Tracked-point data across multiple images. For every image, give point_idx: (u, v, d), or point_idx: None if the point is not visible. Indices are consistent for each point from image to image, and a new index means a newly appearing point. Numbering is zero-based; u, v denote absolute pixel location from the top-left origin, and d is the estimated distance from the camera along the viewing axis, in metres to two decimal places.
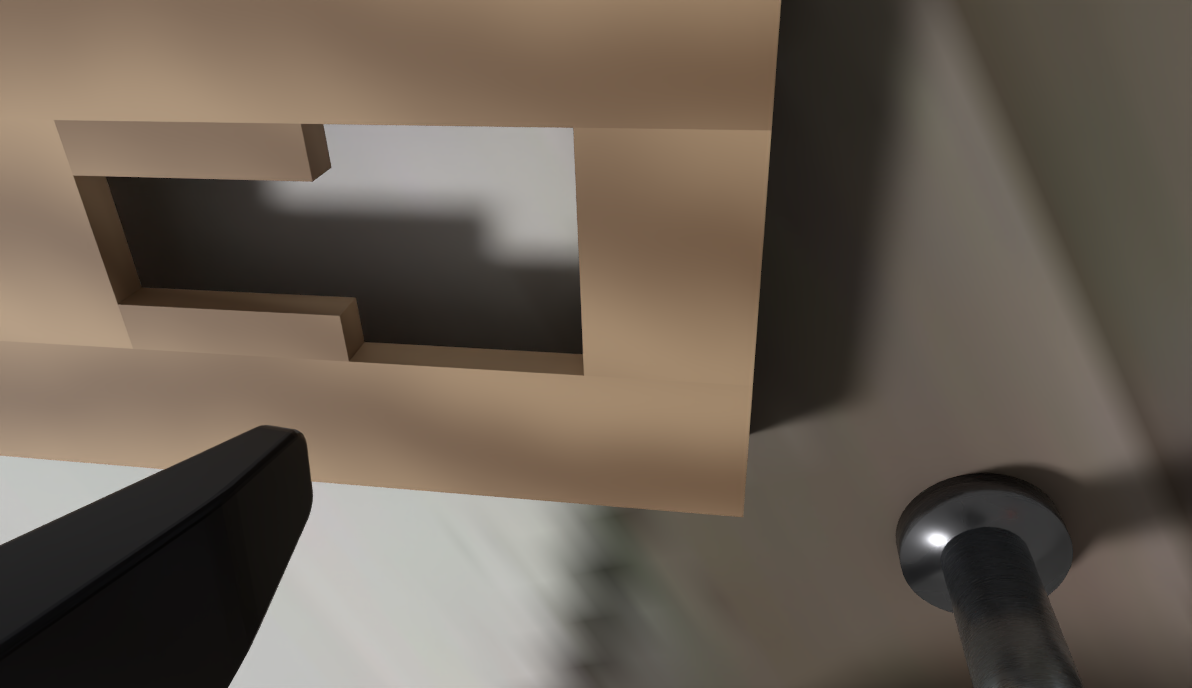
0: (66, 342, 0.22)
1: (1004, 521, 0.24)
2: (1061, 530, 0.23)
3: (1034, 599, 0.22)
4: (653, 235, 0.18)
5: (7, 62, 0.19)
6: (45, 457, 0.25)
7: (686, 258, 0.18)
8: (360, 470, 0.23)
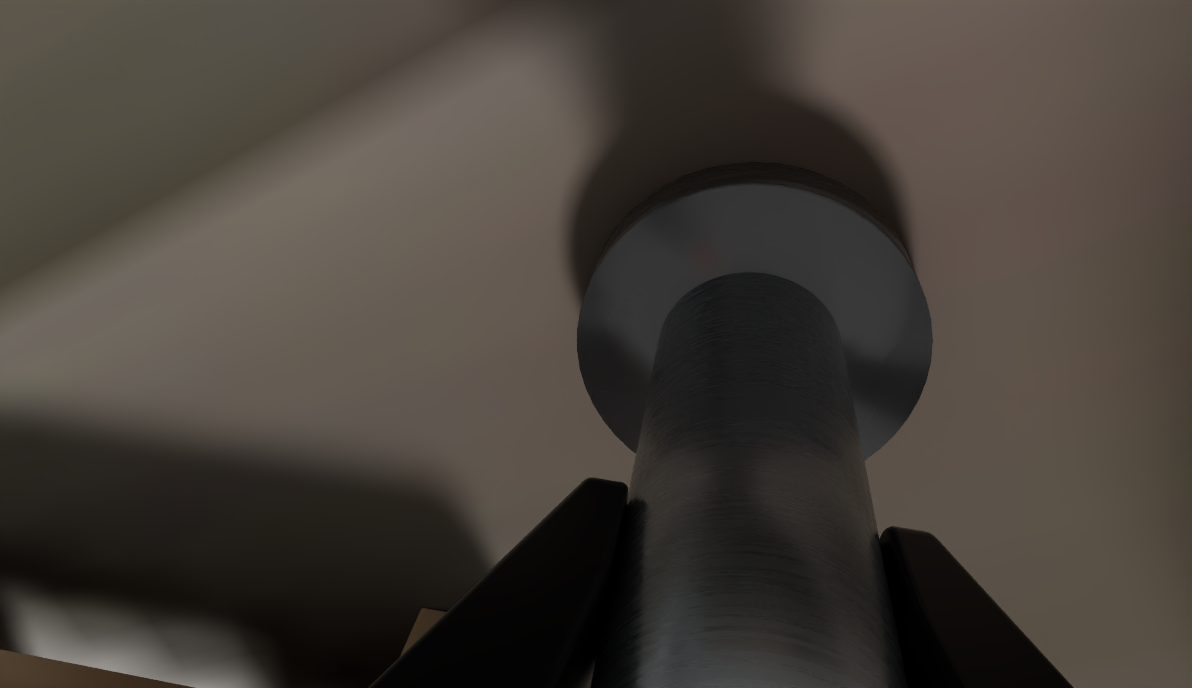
0: None
1: (642, 323, 0.11)
2: (669, 216, 0.10)
3: (648, 426, 0.09)
4: None
5: None
6: None
7: None
8: None
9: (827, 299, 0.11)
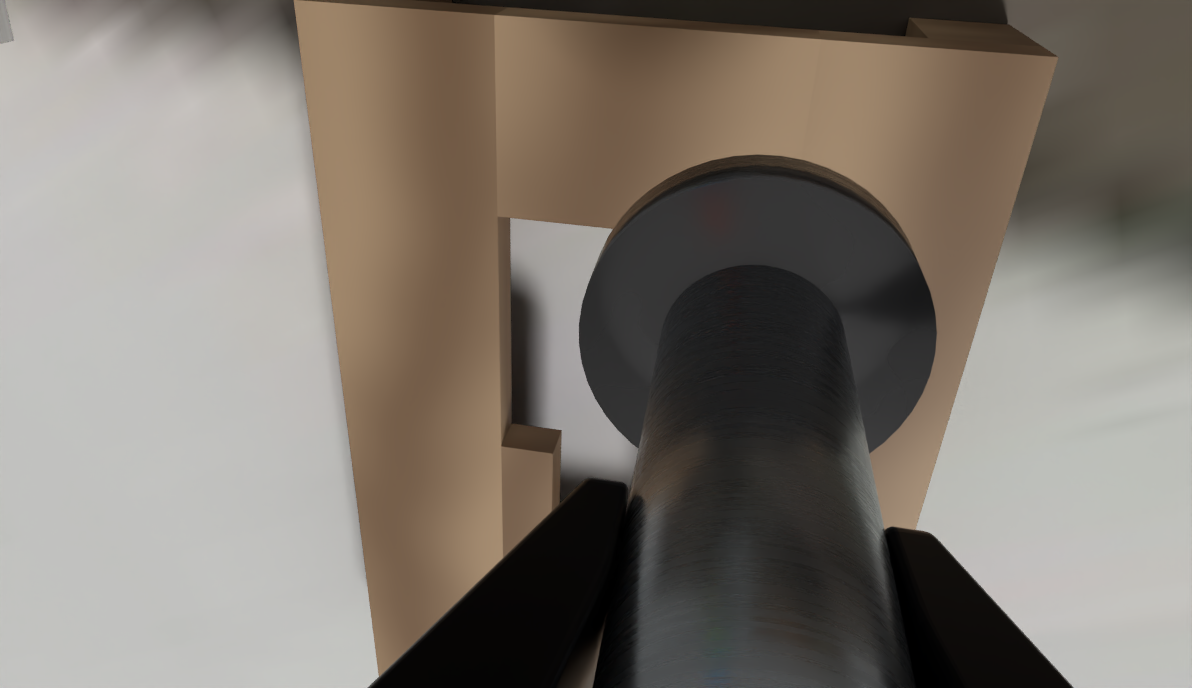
0: None
1: (643, 315, 0.11)
2: (672, 208, 0.10)
3: (651, 418, 0.09)
4: (610, 149, 0.17)
5: None
6: None
7: (638, 114, 0.16)
8: (896, 514, 0.20)
9: (831, 291, 0.11)
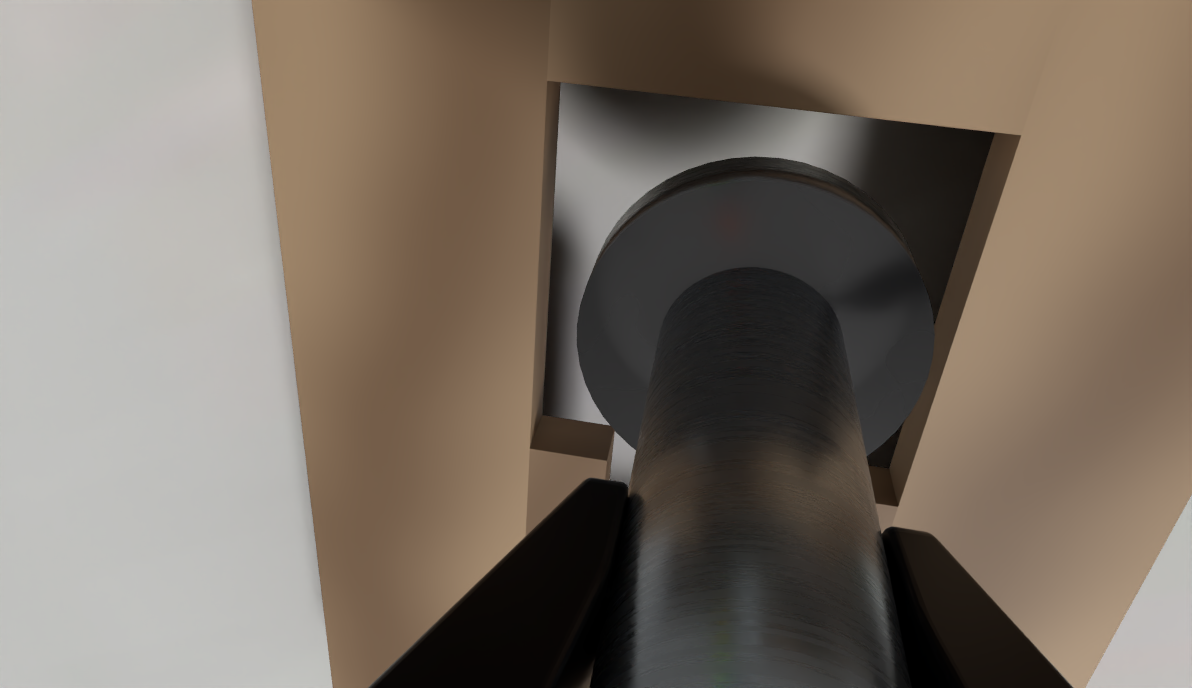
0: None
1: (642, 318, 0.11)
2: (670, 210, 0.10)
3: (649, 421, 0.09)
4: None
5: None
6: None
7: None
8: (1119, 558, 0.13)
9: (828, 294, 0.11)
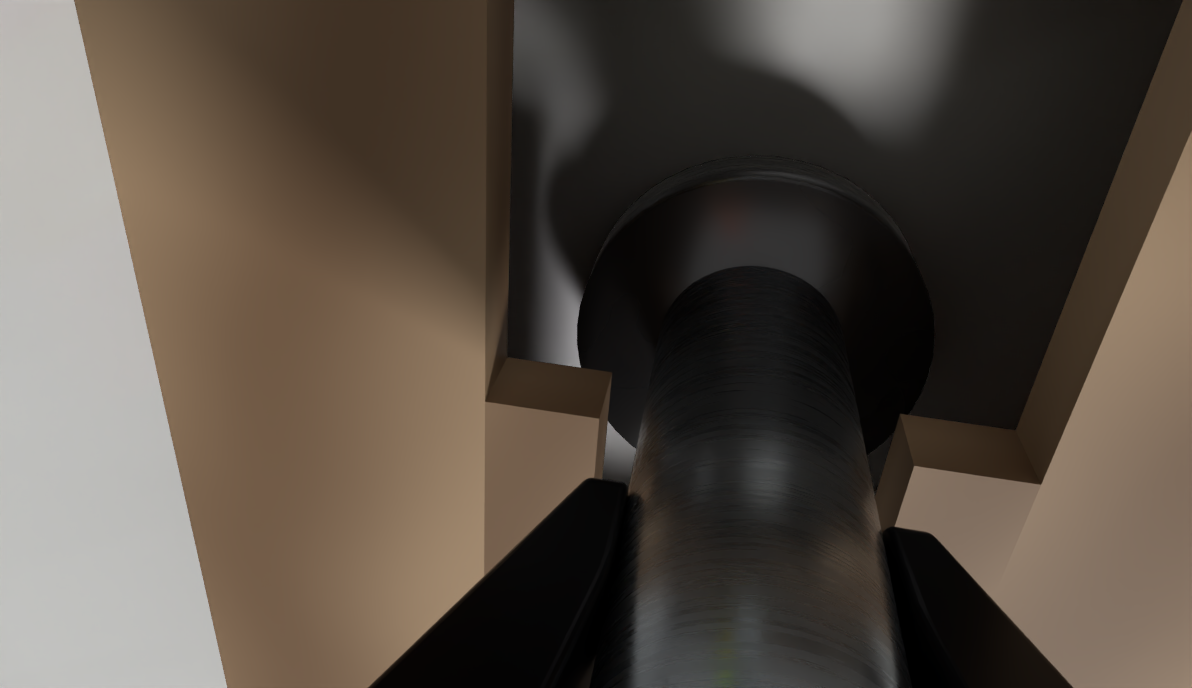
0: None
1: (642, 317, 0.11)
2: (670, 209, 0.10)
3: (649, 419, 0.09)
4: None
5: None
6: None
7: None
8: None
9: (829, 292, 0.11)
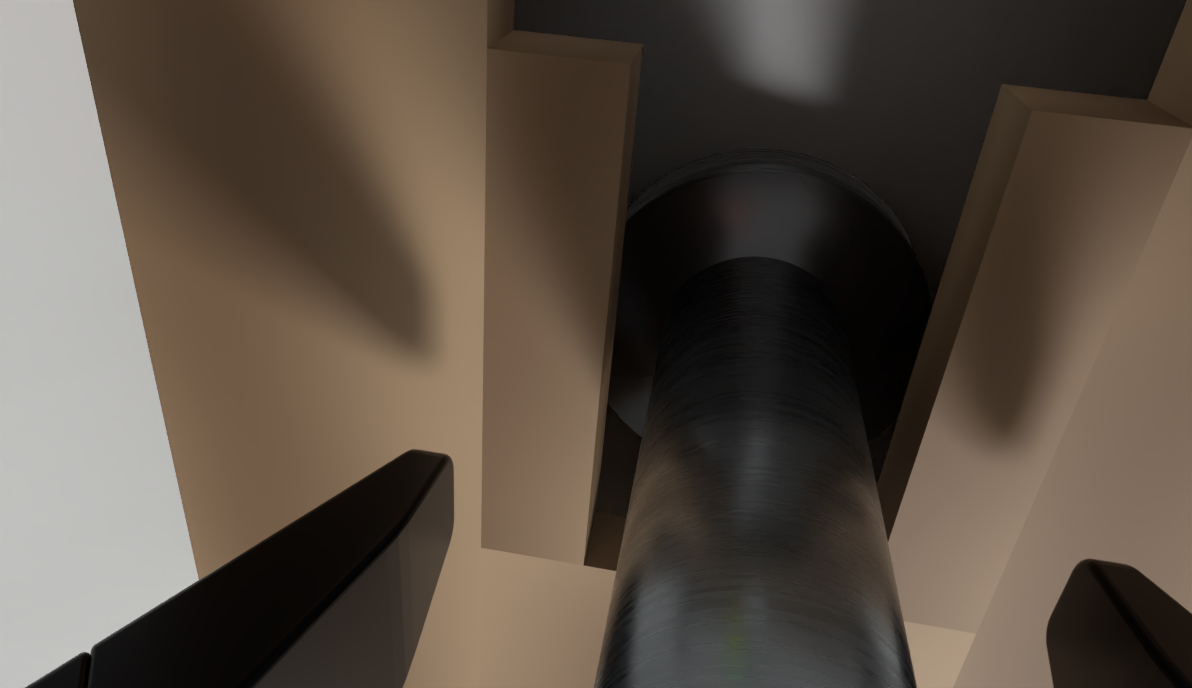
0: None
1: (648, 307, 0.11)
2: (675, 201, 0.11)
3: (655, 404, 0.09)
4: None
5: None
6: None
7: None
8: None
9: (830, 282, 0.11)
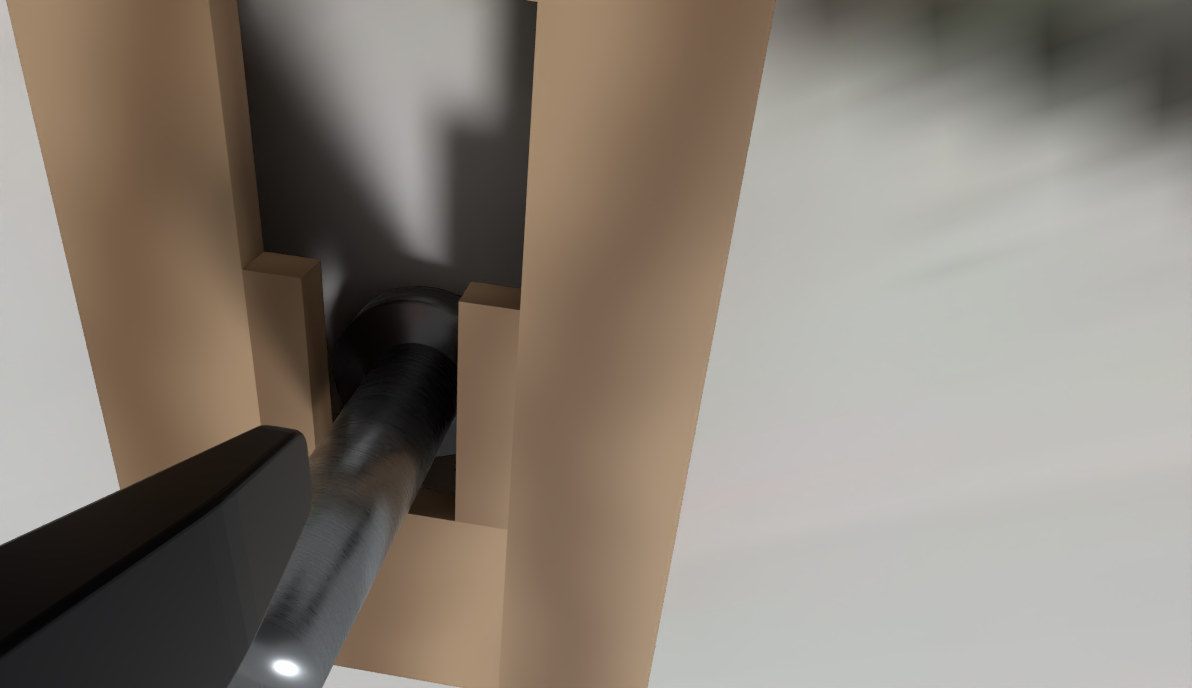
0: (501, 587, 0.21)
1: (364, 367, 0.22)
2: (369, 315, 0.21)
3: None
4: None
5: None
6: (649, 672, 0.22)
7: None
8: (685, 347, 0.17)
9: (451, 356, 0.21)
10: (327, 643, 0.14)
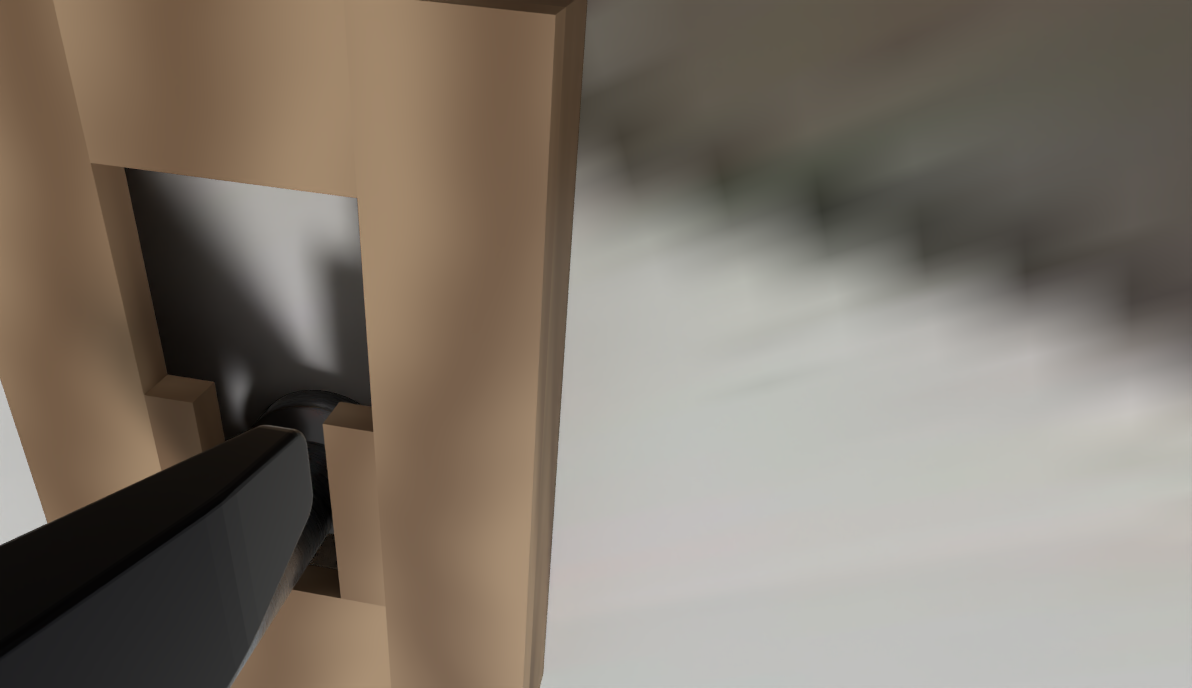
0: (386, 653, 0.25)
1: None
2: (269, 418, 0.24)
3: None
4: (178, 97, 0.17)
5: None
6: None
7: (195, 63, 0.17)
8: (512, 465, 0.20)
9: None
10: None
